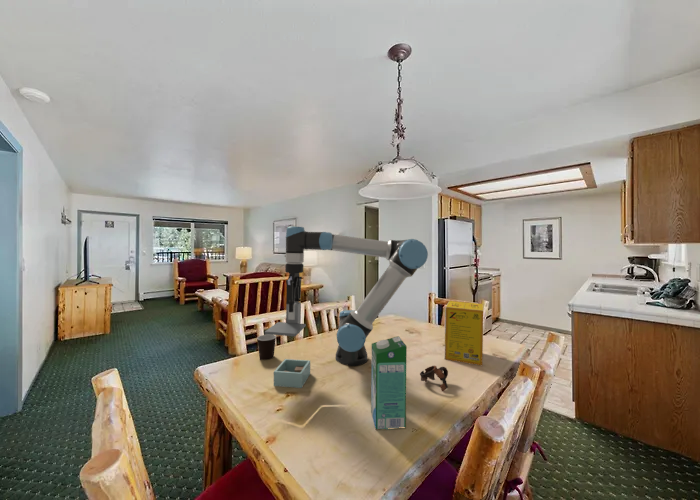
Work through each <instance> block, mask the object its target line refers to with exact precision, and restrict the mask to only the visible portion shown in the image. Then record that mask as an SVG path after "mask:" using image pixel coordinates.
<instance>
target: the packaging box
mask: <svg viewBox="0 0 700 500" xmlns="http://www.w3.org/2000/svg"><path fill="white" fill-rule="evenodd" d="M444 313H445V315H444V318H445V319H444V321H445V322H444V360H446V361H452V362H458V363H464V364H469V363H470V365H475V364H477V366H481V365H482V366H483V354H484V353H483V351H484V350H483V349H484V348H483V347H484V346H483V345H484V344H483V343H484V340H483V339H484V303H474V302H466V301H465V302H464V301H456V300H455V301H454V300H449V301H448V303H447V304H446V306H445V311H444Z"/></svg>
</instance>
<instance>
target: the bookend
mask: <svg viewBox="0 0 700 500" xmlns="http://www.w3.org/2000/svg"><path fill="white" fill-rule="evenodd" d="M285 304H286V303H285ZM294 304H295V320H289V319H288V304H286V309H285V322H282V321H278V322H276V323H275V324H273V325H272V326H270V327H269V328H268V329H266V330H265V331H264V335H268V334H269V335H275V336H283V337H284V336H285V337H296V336H297V335H298V334H299V333H300V332H301V331H303V329H304V328H305V327H306V326H307V325H306V323H301V320H302V319H301V318H302V317H301V314H302V310H301V309H302V302H301V301H298V302H294Z"/></svg>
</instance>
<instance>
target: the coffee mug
mask: <svg viewBox="0 0 700 500" xmlns="http://www.w3.org/2000/svg"><path fill="white" fill-rule="evenodd" d="M256 339H257V341H256V342H257V347H258V348H257V349H258V355H259V360H260V361H262V360H263V361H267V360H271V359H273V358H274V357H275V356H274V355H275V349H276V348H275V347H276V341H277V335H269V334H262V335H259V336H257V337H256Z"/></svg>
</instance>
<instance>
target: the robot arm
mask: <svg viewBox="0 0 700 500" xmlns="http://www.w3.org/2000/svg"><path fill="white" fill-rule="evenodd" d="M285 233H286V234H285V255H284V257H285V262H286V263H285V267H284V268H285V273H288V279H286V280H285V283H286V286H285V287H286V292H285V293H286V297H285V299H286V302H285V304H288V319H289V320H295V304H294V302H301V301H302V299H301V298H302V297H301V296H302V294H301V293H302V278H303V276H300V274H302V273H304V264H303V263H304V262H305V260H304V258H305V250H312V251H314V250H315V251H316V250H317V251H321V250H322V251H335V252H342V253H348V254H357V255H363V256H370V257H377V258H385V259H386V261H388V262H389V265H388V266H387V268H386V269H385V271H384V272H383V274H382V275H380V278H379V279H378V280H377V281H376V283H375V284H374V286H373V287H372V288H371V290H370V291H369V292H368V294H367V295H366V296H365V298H364V299H363V301H362V302H361V303H360V305H359V306H358V308H357V309H356V310H351V309H349V310H347V309H346V310H341V311H340V312H339V316H338V319H339V321H338V324H339V325H338V328H337V332H336V339H337V344H338V345H337V346H338V347H337V349H336V353H335V361H336V362H337V363H339V364H342V365H346V366H348V367H356V366H362V365H364V364H366V363H367V362H368V358H369V357H368V351H367V349H366V346H365V343H366V340H367V338H368V336H369V335H370V333H371V332H372V330H373V328H374V325H373V323H374V322H375V321H376V319H377V318H378V316H379V315H380V314H381V312H382V311H383V310H384V308H385V307H386V306H387V304H388V303H389V301H390V300H391V299H392V298H393V296H394V295H395V294H396V292H397V291H398V289H400V287H401V285H402V284H403V283H404V281H405V280H406V279H407V278H410V277H411V278H412V277H413V276H414V274H415V273H416V271H417V270H418V269H420V268H422V267H423V266H424V265H425V264H426V262H427V260H428V256H429V254H428V249H427V247H426V245H425V244H424V243H423V242H421V241H420V240H418V239H416V238H415V239H414V238H410V239H403V240H401V239H400V240H396V239H395V240H394V239H389V240H387V241H386V240H378V239H372V238H364V237H362V238H361V237H354V236H348V235H340V234H334V233H332V232H328V231H305V227H303V226H295V225H294V226H292V225H291V226H288V227H286V232H285Z"/></svg>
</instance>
